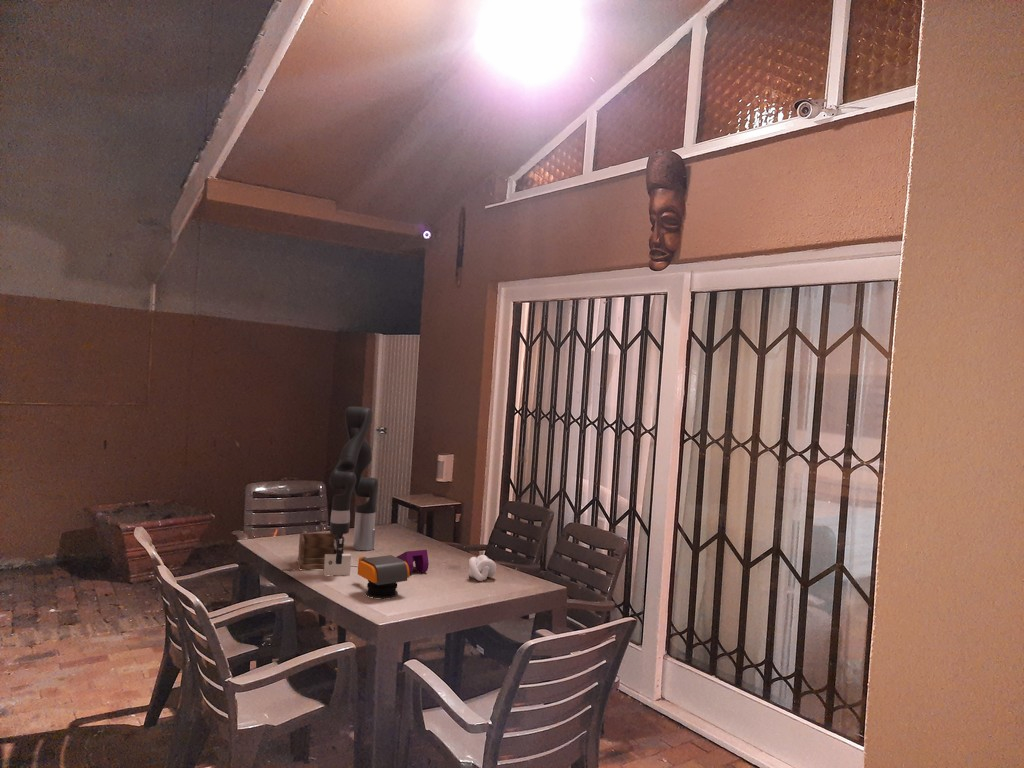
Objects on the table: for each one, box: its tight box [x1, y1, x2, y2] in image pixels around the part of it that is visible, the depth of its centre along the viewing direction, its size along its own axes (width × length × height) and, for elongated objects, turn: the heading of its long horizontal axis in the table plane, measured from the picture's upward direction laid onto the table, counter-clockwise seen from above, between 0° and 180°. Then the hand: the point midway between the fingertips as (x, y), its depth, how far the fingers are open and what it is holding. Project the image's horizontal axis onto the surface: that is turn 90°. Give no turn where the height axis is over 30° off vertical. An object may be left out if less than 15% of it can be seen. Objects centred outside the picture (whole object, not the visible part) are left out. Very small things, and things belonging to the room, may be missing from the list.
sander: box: [357, 554, 411, 600], centre depth 261 cm, size 15×25×13 cm, turn 39°
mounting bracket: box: [396, 549, 430, 574], centre depth 293 cm, size 10×8×18 cm
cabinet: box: [297, 532, 341, 569], centre depth 290 cm, size 16×14×12 cm
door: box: [323, 553, 352, 576], centre depth 278 cm, size 10×4×8 cm, turn 110°
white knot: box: [468, 554, 497, 582], centre depth 285 cm, size 11×12×9 cm
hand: (337, 561), depth 278 cm, fingers open, 8 cm apart
